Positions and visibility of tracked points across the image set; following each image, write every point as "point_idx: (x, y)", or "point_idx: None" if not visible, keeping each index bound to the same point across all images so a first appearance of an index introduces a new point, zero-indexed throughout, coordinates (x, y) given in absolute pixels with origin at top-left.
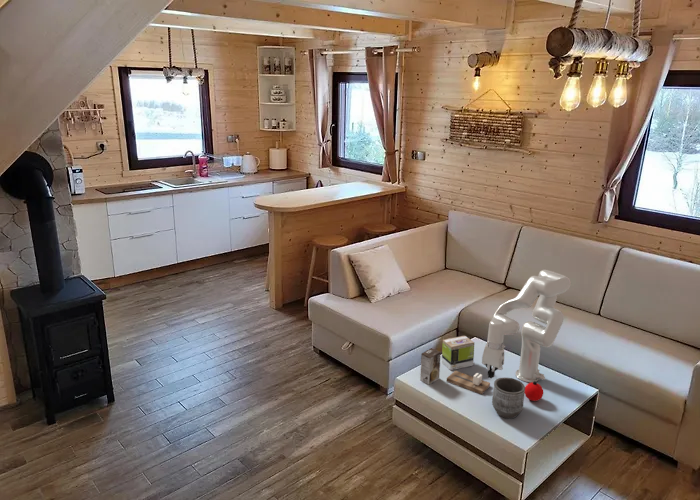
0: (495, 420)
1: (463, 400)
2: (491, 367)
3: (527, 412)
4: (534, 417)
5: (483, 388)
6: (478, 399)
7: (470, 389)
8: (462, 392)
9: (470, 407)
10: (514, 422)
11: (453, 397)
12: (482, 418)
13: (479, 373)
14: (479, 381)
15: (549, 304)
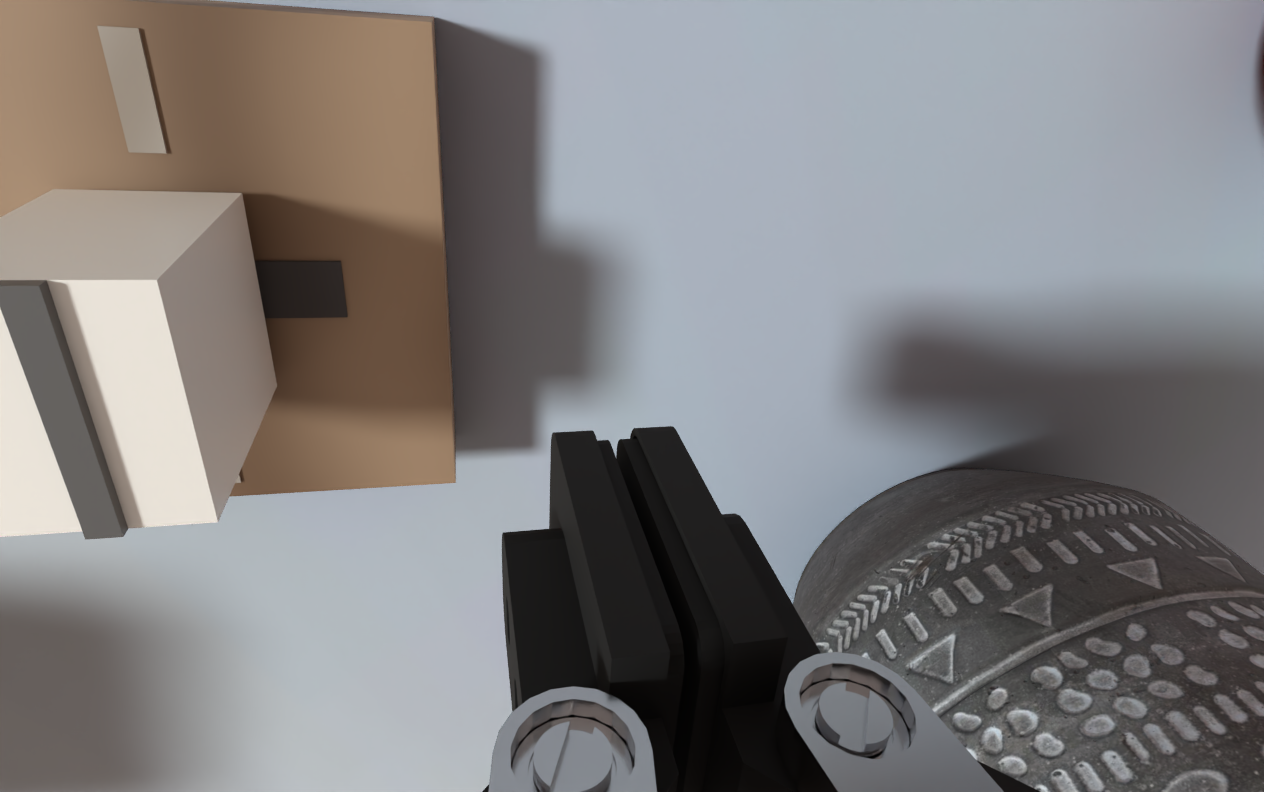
0: None
1: (315, 724)
2: (651, 790)
3: (1176, 418)
4: (1244, 457)
5: (430, 382)
6: (484, 580)
7: None
8: (139, 590)
9: (487, 765)
10: None
11: (142, 761)
12: None
13: (15, 286)
14: (244, 372)
15: None
